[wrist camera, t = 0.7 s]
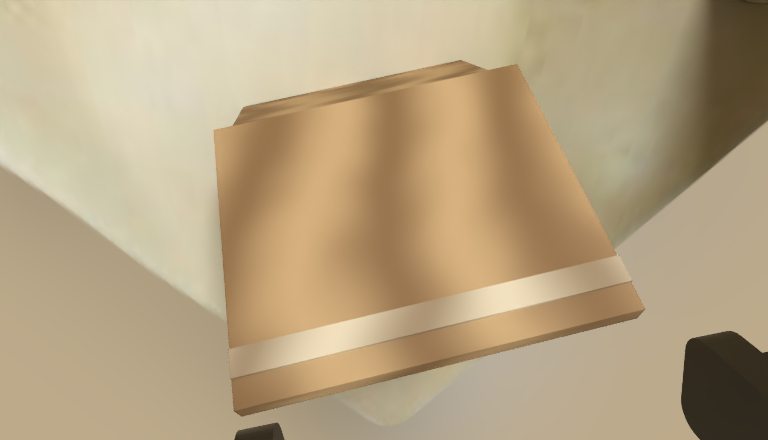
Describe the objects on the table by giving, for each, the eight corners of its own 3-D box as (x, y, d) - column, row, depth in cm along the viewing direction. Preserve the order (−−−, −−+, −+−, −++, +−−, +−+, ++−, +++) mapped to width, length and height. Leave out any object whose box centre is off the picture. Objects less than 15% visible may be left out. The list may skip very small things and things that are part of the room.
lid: (514, 78, 29) (517, 61, 28) (636, 318, 22) (646, 307, 21) (220, 142, 28) (212, 128, 27) (241, 416, 21) (232, 410, 20)
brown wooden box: (460, 60, 39) (509, 78, 30) (482, 231, 44) (529, 291, 35) (243, 107, 38) (224, 141, 29) (293, 276, 43) (290, 349, 34)
